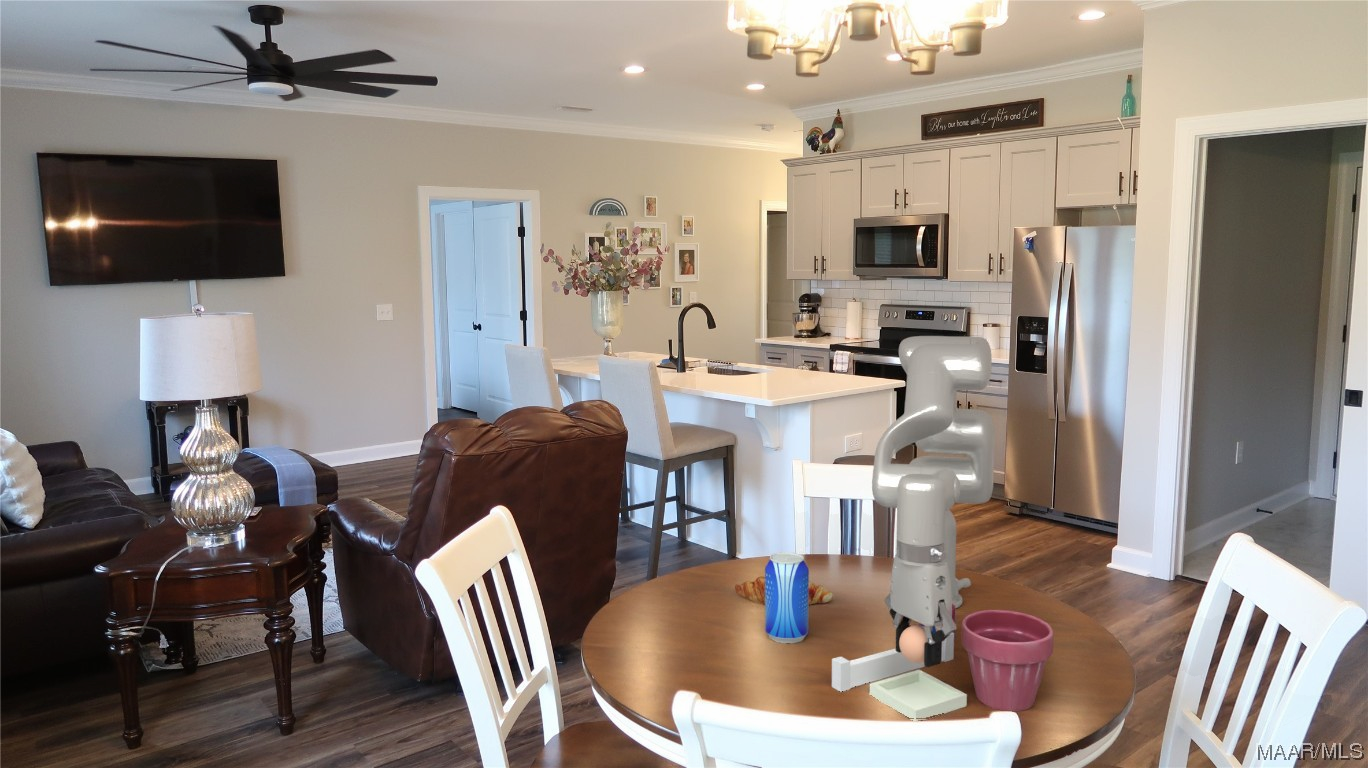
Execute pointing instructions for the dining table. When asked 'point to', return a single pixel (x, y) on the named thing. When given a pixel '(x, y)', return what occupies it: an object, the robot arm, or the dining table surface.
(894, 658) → the rail
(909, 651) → the ball
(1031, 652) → the plant pot
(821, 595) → the croissant
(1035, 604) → the dining table surface
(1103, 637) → the dining table surface
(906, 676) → the square tray
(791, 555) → the beer can
